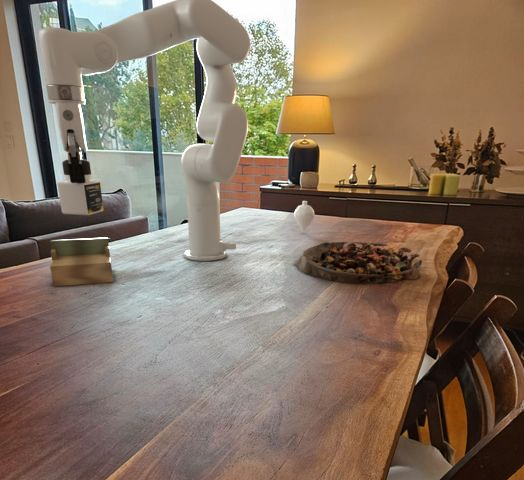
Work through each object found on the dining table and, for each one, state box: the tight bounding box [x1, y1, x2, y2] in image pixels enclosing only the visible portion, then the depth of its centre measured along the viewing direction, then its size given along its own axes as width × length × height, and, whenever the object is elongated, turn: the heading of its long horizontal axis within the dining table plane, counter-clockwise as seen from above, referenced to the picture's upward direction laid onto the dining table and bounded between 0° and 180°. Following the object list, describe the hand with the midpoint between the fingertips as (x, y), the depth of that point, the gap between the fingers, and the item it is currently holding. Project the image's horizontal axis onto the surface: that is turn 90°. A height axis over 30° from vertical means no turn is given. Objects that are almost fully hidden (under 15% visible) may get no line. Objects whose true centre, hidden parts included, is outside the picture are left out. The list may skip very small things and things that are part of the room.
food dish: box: [294, 241, 423, 284], centre depth 129 cm, size 35×33×8 cm
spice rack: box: [49, 237, 114, 287], centre depth 116 cm, size 14×11×9 cm
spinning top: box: [293, 200, 315, 234], centre depth 173 cm, size 8×8×12 cm
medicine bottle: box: [56, 158, 104, 216], centre depth 109 cm, size 7×7×12 cm
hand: (78, 180), depth 108 cm, fingers closed on medicine bottle, 7 cm apart
